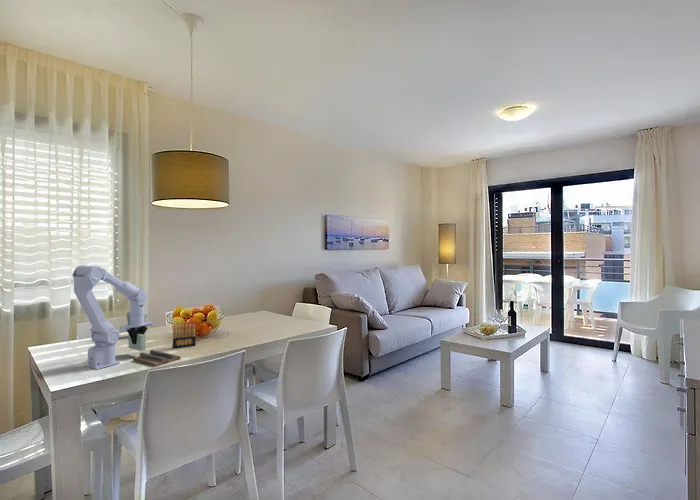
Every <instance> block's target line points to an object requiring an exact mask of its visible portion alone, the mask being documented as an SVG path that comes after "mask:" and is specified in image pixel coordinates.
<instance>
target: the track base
mask: <svg viewBox="0 0 700 500" xmlns="http://www.w3.org/2000/svg"><path fill="white" fill-rule="evenodd" d="M132 360H133V362H136V363H139V364H143V365H147V366H151V367H154V368H155V367H160V366H162V365H166V364H170V363H172V362H176V361H178V360H181V356H180V355H177V354H173V353H169V352H163V351H160V350H154V349H150V350H149V353H146V352H143V351H141V352H139V356H136V357H133V358H132Z"/></svg>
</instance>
